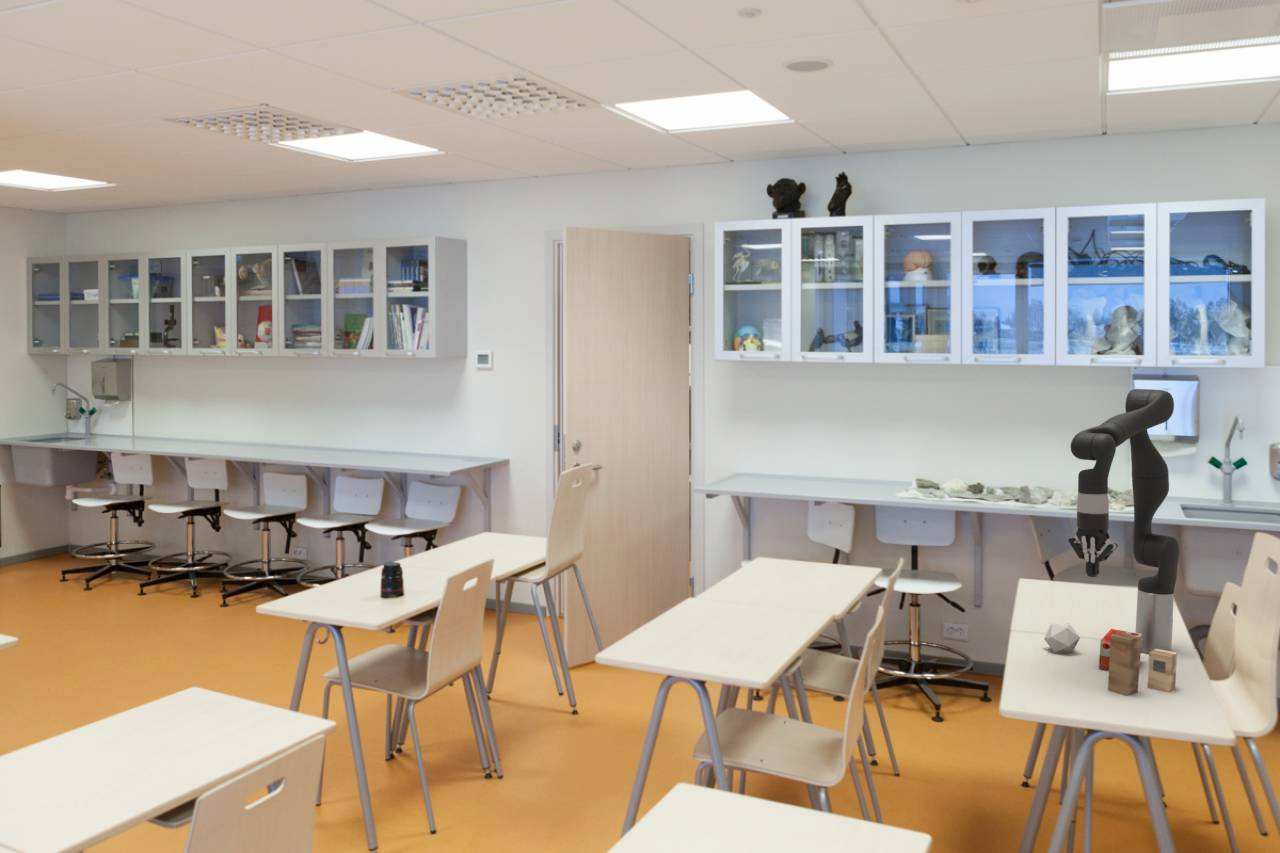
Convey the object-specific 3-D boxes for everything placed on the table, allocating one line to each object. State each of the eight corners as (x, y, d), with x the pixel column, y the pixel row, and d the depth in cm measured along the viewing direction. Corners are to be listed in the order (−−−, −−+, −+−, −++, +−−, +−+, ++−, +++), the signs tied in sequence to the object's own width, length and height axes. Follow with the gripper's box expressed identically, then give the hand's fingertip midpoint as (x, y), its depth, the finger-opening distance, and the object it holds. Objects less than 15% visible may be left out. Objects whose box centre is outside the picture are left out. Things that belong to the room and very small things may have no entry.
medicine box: (1131, 675, 269) (1133, 645, 268) (1098, 669, 274) (1099, 640, 273) (1141, 661, 282) (1142, 633, 281) (1109, 656, 286) (1110, 628, 286)
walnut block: (1118, 686, 260) (1121, 632, 259) (1137, 691, 256) (1140, 636, 255) (1107, 690, 257) (1110, 635, 256) (1127, 695, 253) (1130, 640, 252)
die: (1074, 660, 284) (1089, 630, 286) (1046, 643, 285) (1061, 613, 287) (1062, 662, 291) (1076, 633, 294) (1035, 645, 293) (1049, 616, 295)
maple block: (1154, 682, 263) (1156, 648, 262) (1175, 687, 260) (1177, 652, 259) (1147, 687, 259) (1149, 652, 259) (1168, 692, 256) (1170, 657, 255)
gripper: (1125, 511, 261) (1124, 578, 262) (1078, 505, 272) (1077, 570, 273) (1108, 514, 257) (1107, 583, 258) (1061, 508, 268) (1060, 574, 269)
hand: (1092, 576), depth 266 cm, fingers closed
